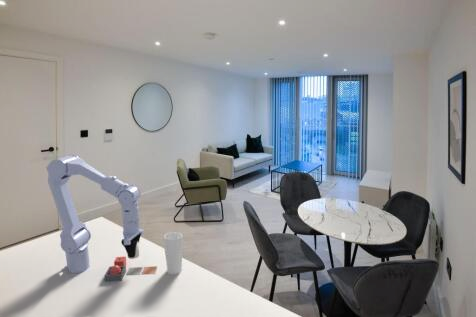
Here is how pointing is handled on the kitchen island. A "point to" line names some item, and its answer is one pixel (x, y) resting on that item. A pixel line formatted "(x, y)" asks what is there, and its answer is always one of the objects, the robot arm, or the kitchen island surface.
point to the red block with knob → (120, 261)
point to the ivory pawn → (136, 251)
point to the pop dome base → (115, 276)
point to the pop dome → (115, 270)
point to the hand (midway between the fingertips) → (133, 253)
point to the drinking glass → (173, 252)
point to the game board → (138, 270)
